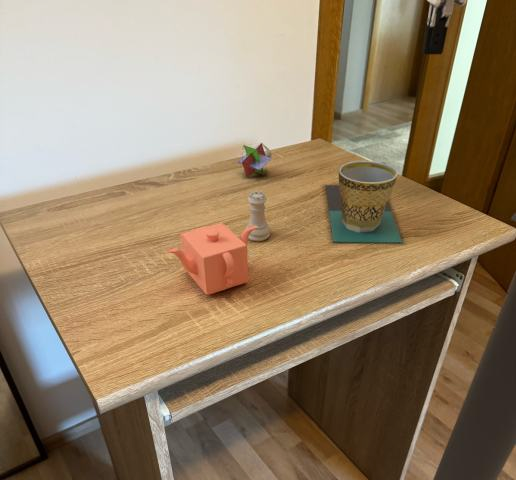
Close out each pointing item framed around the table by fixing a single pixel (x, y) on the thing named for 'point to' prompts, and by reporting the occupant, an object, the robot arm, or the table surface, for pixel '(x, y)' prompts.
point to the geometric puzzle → (255, 159)
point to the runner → (341, 234)
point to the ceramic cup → (365, 193)
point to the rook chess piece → (258, 217)
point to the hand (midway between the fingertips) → (431, 53)
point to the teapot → (214, 257)
